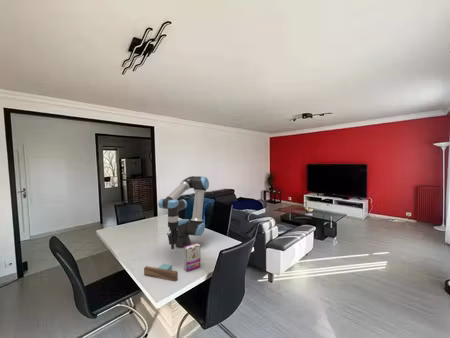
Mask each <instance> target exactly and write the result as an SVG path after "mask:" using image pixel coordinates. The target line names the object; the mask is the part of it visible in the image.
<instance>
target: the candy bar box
mask: <svg viewBox="0 0 450 338" xmlns="http://www.w3.org/2000/svg"><path fill="white" fill-rule="evenodd" d="M199 268H201V244H199V243H193V244H191V245H189V246H185V247H184V248H183V269H184V270H185V272H186V273H189V272H190V271H193V270H196V269H199Z"/></svg>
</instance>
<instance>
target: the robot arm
mask: <svg viewBox="0 0 450 338" xmlns="http://www.w3.org/2000/svg"><path fill="white" fill-rule="evenodd" d="M209 187H210V182H209V178H208V177H207V176H203V175H202V176H201V175H200V176H198V175H197V176H196V175H195V176H194V175H191V176H188V177H186V178H184V179H182V181H181V182H180V183H179V185H178V186H177V187H176V188H175V189H174V190H173V191H172V192H170V193H169V194H168V195H167V196H166V198H160V199H159V200H158V202H157V205H158V207H159V208H160V209H164V210H167V227H168V228H169V230H168V232H167V233H166V235H167V238H168V244H169V246H170V245H171V246H170V250H171V251H170V252H171V254H175V253H176V248H178V249H184V247H185V246H189V245H192V243H191V239H190V236H195V237H201V236H202V235H203V233H204V232H205V229H206V228H205V227H206V224H205V223H204V220H203V208H204V198H205V194H206V192H207V190H208V189H209ZM189 189H193V191H194V200H193V209H192V217H191V219H188V218H183V219H179V212H180V211H182V210H184V209H186V208H187V207H188V202H187V200H185V199H179V198H180V197H181V196H182V195H183V194H184V193H185V192H186V191H188V190H189Z"/></svg>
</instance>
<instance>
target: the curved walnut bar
mask: <svg viewBox="0 0 450 338" xmlns="http://www.w3.org/2000/svg"><path fill="white" fill-rule="evenodd" d="M143 276H146V277H150V278H151V277H152V278H158V279H162V280H167V281H173V282H177V281H178V279H179V278H178V276H179V272H178V271H176V270H172V271H171V270H166V269H160V268H159V267H153V266H149V265H146V266H145V267H143Z"/></svg>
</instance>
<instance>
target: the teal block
mask: <svg viewBox="0 0 450 338" xmlns="http://www.w3.org/2000/svg"><path fill="white" fill-rule="evenodd" d="M158 268H160V269H166V270H171V271H173V265H172V264H168V263H167V264H166V263H162V264H161V265H160V266H158Z"/></svg>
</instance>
